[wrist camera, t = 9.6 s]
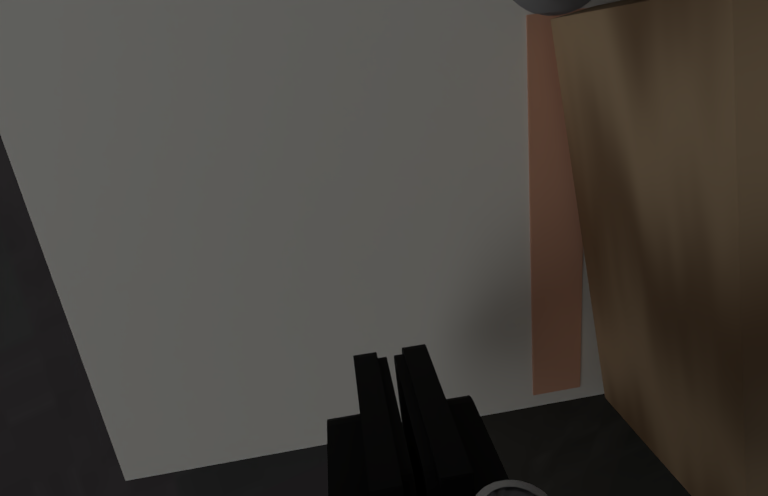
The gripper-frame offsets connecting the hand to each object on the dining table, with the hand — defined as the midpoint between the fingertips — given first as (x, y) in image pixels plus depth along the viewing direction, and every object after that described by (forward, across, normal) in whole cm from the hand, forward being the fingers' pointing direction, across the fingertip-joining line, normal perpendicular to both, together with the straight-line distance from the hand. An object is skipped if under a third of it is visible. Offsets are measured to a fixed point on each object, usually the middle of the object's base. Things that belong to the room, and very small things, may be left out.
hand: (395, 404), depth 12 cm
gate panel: (+4, -7, -2) cm, 8 cm away
